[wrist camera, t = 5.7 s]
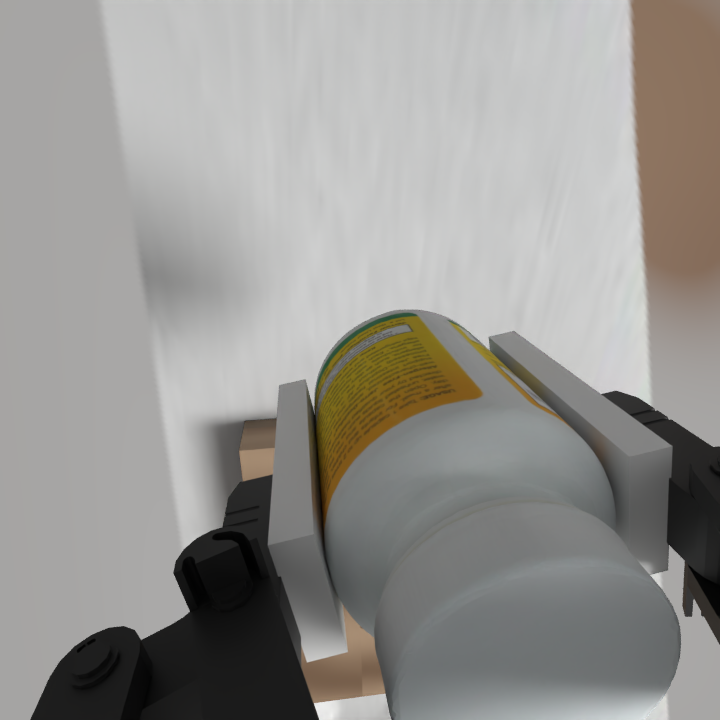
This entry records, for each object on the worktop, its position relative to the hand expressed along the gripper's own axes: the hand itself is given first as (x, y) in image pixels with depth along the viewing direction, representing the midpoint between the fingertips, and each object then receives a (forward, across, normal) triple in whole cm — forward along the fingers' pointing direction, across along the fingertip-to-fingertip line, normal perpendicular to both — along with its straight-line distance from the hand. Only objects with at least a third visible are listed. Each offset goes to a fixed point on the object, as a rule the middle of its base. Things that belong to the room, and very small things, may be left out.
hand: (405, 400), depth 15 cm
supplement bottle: (+1, 0, 0) cm, 1 cm away
